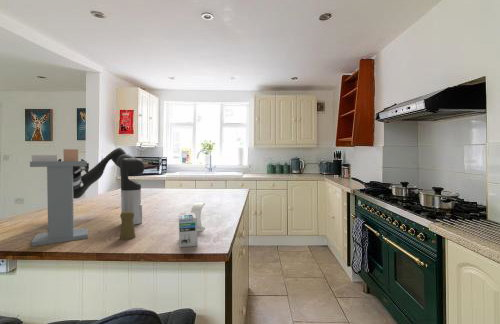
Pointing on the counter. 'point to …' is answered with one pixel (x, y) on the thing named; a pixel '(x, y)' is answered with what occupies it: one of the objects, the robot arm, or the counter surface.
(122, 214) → the cork
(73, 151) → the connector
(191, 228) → the light bulb box
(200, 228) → the headphone stand
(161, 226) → the counter surface
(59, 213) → the stand
